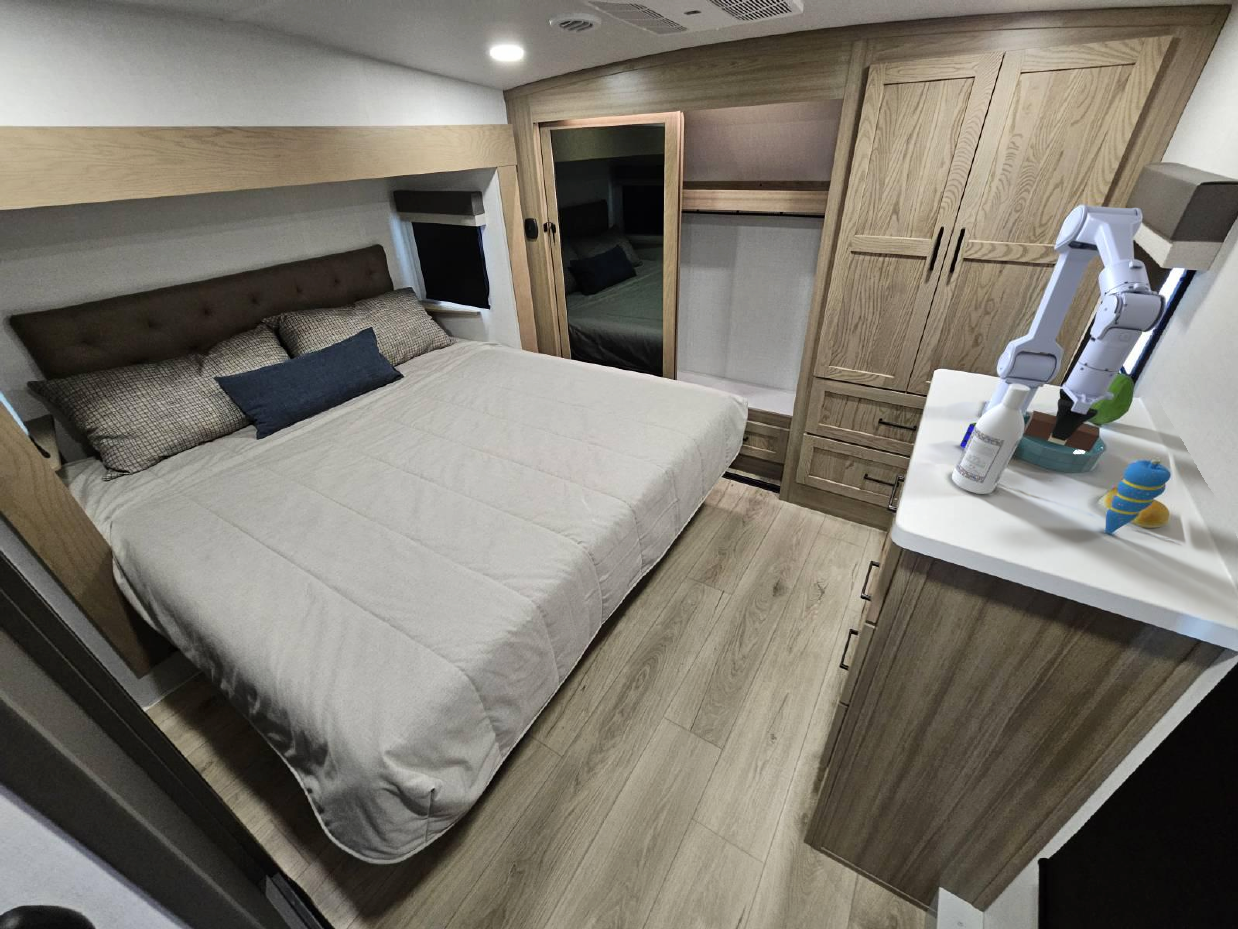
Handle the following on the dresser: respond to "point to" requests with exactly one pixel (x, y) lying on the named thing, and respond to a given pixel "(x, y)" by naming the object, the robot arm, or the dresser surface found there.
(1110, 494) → the bread roll
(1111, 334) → the robot arm
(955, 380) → the dresser surface
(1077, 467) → the bowl
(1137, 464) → the ornament
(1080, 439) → the snack bar
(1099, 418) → the avocado
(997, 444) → the bath foam
